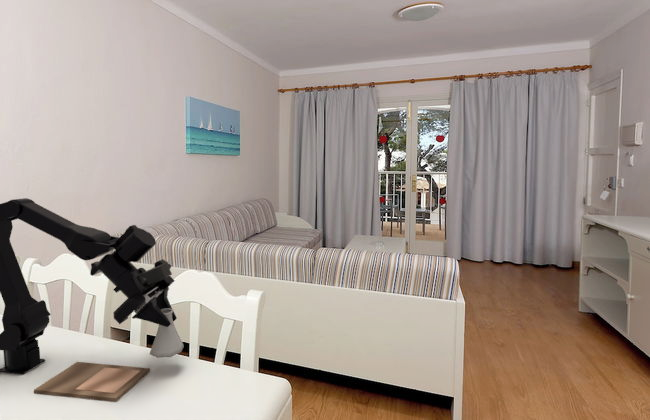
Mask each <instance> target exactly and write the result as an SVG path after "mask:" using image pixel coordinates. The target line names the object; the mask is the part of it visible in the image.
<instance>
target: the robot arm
mask: <svg viewBox="0 0 650 420" xmlns="http://www.w3.org/2000/svg"><path fill="white" fill-rule="evenodd" d="M15 220H19V221H22V222H24V223H26V224H28V225H30V226H32V227H33V228H35V229H38V230H39V231H41V232H43V233H45V234H47V235H49V236H51V237H54V239H57V240H58V241H60V242H62V243H63V244H64V245H65V246H66V249H67V250H68V251H69V252H70V253H72V254H73V255H74V256H76V257H77V258H79V259H80V260H83V261H91V260H94V259H96V258H99V257H101V256H103V257H102V258H101V259H100V260H99V261H94V262H92V263H90V266H91V267H90V272H89V273H90V274H89V275H90V276H95V275H97V274H99V273H102V274H103V276H104V277H106V278H107V279H108V280H109V281H110V282H111V283H112V284H113V285H114V286H115V288H113V291H114V292H115V293H116V294H117V293H119V292H121V293H122V294H123V295H124V296H125V297H126V299H125V300H124V302H122V304H120V305H119V306H118V307H117V308H116V309H115V310H114V311H113V319H114V320H115V321H116V322H117V323H118V324H119V325H122V324H123V323H124V322H125V321H127V320H128V319H129V316H130V315H132V314H133V313H135V314H134V315H133V316H132V317H131V318H132V319H133V320H134V319H139V320H143V321H146V322H150V323H153V324H156V325H158V326H159V325H162V326H165V327H168V326H169V325H170V324H171V323H170V321H169V320H168V318H167V317H166V316H165V315H164V314H163V312H162V311H161V309H164V308H170V309H173V308H172V305H171V304H170V301H169V298H168V293H169V292H168V291H170V288H169V287H170V286H171V285H172V284H174V282H175V281H176V280H175V278H173V277H172V276H171V275H172V274H173V273H172V271H171V268H172V265H171V263H169V262H168V261H166V260H165V259H164V258H162V259H159V260H158V261H156V262H154V267H152V268H150V269H148V270H146V269H145V268H144V267H139V268H137V267H136V266H135V265H134V264H133V262H134V263H137V262H140V261H141V259H143V258H144V256H145V255H147V253H148V252H150V251H151V249H153V247H155V246H156V243H157V242H156V241H157V240H156V239H155V238H154V236H153V235H152V234H151V233H150V232H148V231H146V230H145V229H143V228H139V227H138V226H137V225H135V224H133V225H129V226H128V228H126V230H125V232H123V233H122V234H121V236H120V237H118V236H113V235H111V234H110V233H108V232H106V231H103V230H101V229H97V228H94V227H89V226H84V225H79V224H76V223H75V222H72V221H71V220H69V219H67V218H65V217H63V216H61V215H59V214H57V213H55V212H53V211H51V210H49V209H47V208H45V207H44V206H41V205H40V204H37V203H36V202H35V201H34V200H32V199H30V198H26V197H24V198H15V199H10V200H9V201H5V202H2V203H0V295H1V298H2V300H3V303H4V310H3V314H2V318H1V322H2V328H3V331H2V332H0V351H3V362H4V366H3V367H1V368H0V373H3V374H11V375H12V374H14V375H23V374H26V373H27V372H29V371H31V370H32V369H34V368H36V367H37V366H40V365H41V364H43V363H45V362H46V359H45V358H41V353H40V352H41V351H40V350H41V349H40V346H39V339H37V338H39V337H40V336H43V335H44V333H45V329H47V327H48V325H49V324H50V316H51V315H52V314H51V313H50V312H49V310H48V308H47V303H46V301H45V300H43V299H42V300H40V301H38V300H37V299H35V298H33V296H32V295H31V293H30V291H29V288H28V285H27V281H26V280H25V276H24V274H23V272H22V269H21V267H20V264H19V261H18V258H17V256H16V253H15V251H14V248H13V246H12V243H11V235H12V231H13V227H14V226H13V222H12V221H15ZM113 250H114V251H113ZM111 251H113V252H112V253H109V252H111ZM177 318H178V317H177V315H176V313H175V312H174V310H173V312H172V319H173V322H175V321H176V320H177Z"/></svg>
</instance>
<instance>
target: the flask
mask: <svg viewBox="0 0 650 420" xmlns="http://www.w3.org/2000/svg"><path fill="white" fill-rule="evenodd" d="M161 311H162V312H163V314H164V315H165V316H166V317H167V318H168V320H169V321H170V323H171V324H170V325H169V326H168V327H165V326H162V325H159V324H158V328H157V331H156V334H155V336H154V337H155V338H154V341H153V343H152V346H151V349H150V350H149V351H150V352H149V355H150V356H153V357H154V358H157V359H160V358H172V357H174V356H177V355H178V354H180V353H181V352H182V351H183V349H184V346H185V345H184V343H183V341H182V339H181V337H180V335H179V333H178V331H177V328H176V326H175V324H174V321H173V319H172V312H173V311H174V309H173V308H172V309H170V308H164V309H161Z"/></svg>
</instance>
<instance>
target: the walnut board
mask: <svg viewBox="0 0 650 420" xmlns="http://www.w3.org/2000/svg"><path fill="white" fill-rule="evenodd" d="M149 373H151V367H150V368H149V367H141V366H128V365H119V364H109V363H106V364H105V363H96V362H95V363H94V362H86V361H85V362H84V361H83V362H82V361H75V363H73V364H71V365H70V366H68V367H67V368H65V369H64V370H62V371H60V372H59V373H58V374H56V375H55V376H53V377H51V378H50V379H49V380H47V381H45V382H44V383H42V384H40V385H39V386H38V387H35V388H34V389H33V394H38V395H45V396H46V395H48V396H57V397H66V398H76V399H84V400H94V401H105V402H113V403H116V402H118V401H119V400H120V399H121V398H122V397H124V396H125V394H127V393H128V392H129V391H130V390H131V389H133V388H134V387H135V386H136V384H138V383H139V382H141V380H143V378H145V377H146V376H147V375H148V374H149Z"/></svg>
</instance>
